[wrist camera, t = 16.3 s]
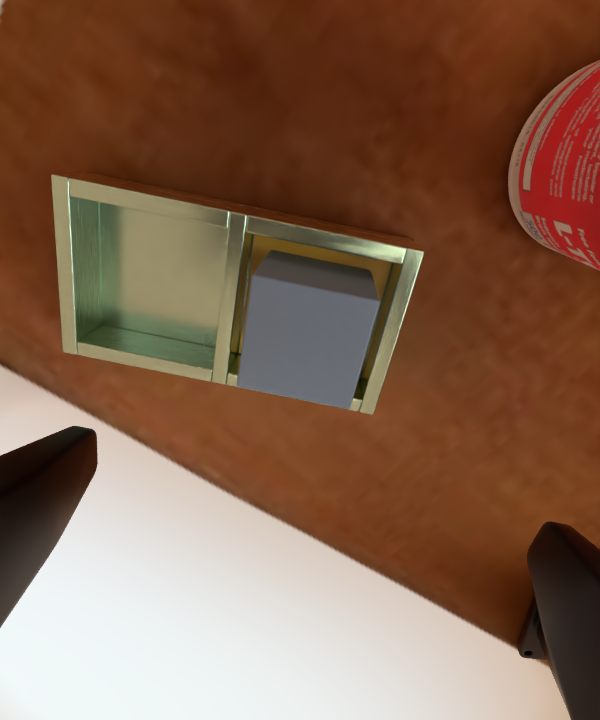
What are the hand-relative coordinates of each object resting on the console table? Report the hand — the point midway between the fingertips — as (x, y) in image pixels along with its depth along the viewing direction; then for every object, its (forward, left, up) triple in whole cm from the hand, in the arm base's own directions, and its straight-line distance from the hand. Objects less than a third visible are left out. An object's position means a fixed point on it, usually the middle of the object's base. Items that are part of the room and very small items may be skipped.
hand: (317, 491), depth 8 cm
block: (0, +1, -10) cm, 10 cm away
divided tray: (+1, +4, -11) cm, 11 cm away
